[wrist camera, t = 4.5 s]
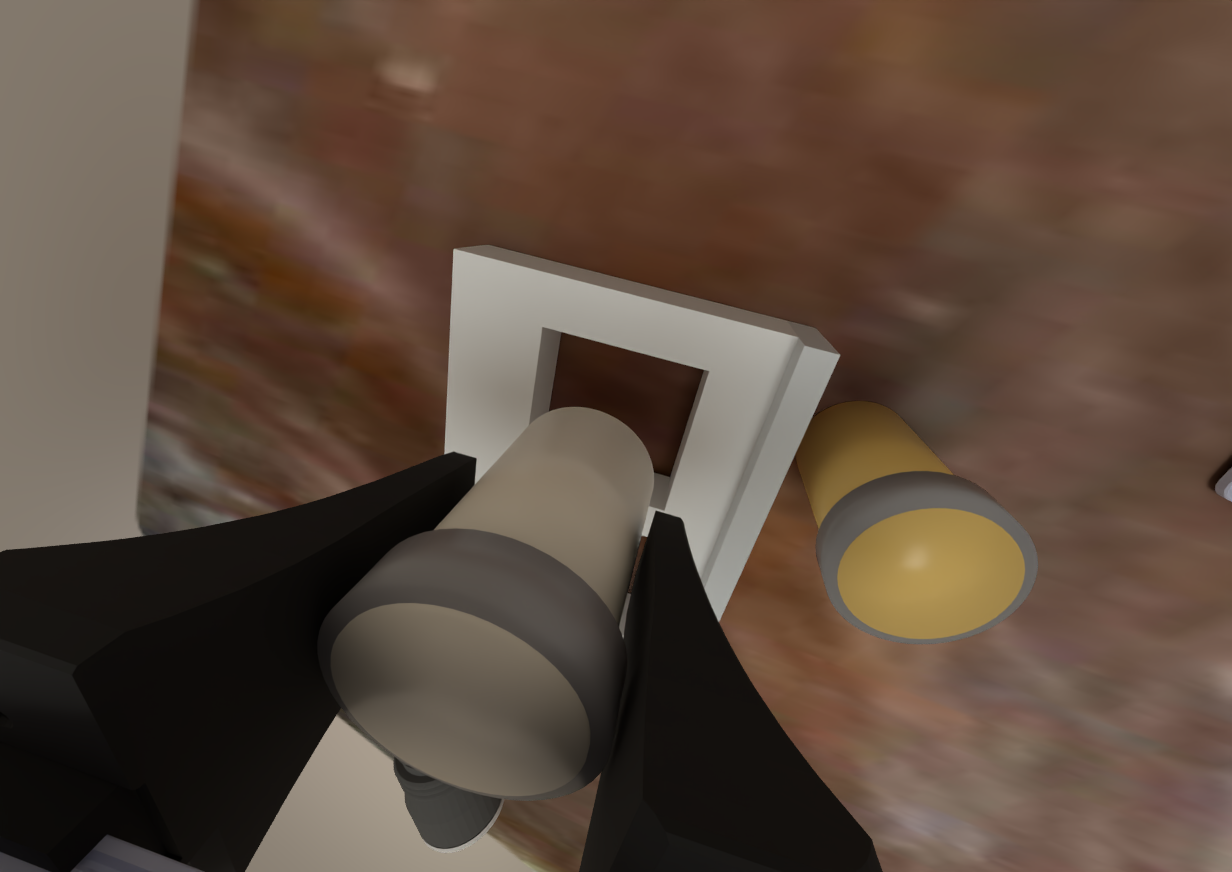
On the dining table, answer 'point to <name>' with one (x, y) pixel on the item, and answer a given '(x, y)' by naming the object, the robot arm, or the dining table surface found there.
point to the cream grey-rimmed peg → (504, 618)
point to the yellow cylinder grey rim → (907, 532)
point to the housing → (653, 325)
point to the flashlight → (445, 810)
